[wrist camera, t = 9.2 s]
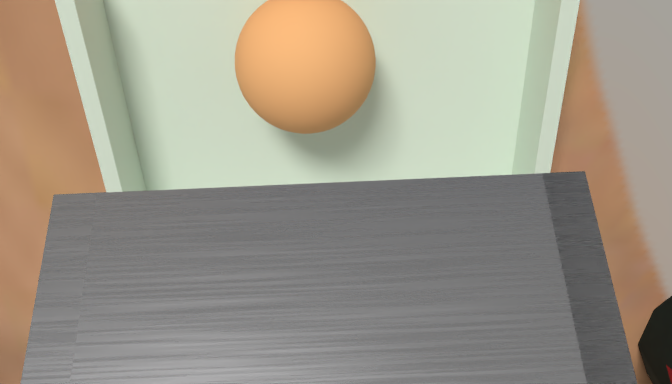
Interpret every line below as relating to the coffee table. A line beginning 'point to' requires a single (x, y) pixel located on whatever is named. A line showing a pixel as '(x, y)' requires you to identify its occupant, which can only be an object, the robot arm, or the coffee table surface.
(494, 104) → the tray
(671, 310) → the wine bottle
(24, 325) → the coffee table surface
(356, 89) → the ball
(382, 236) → the grey hollow box
